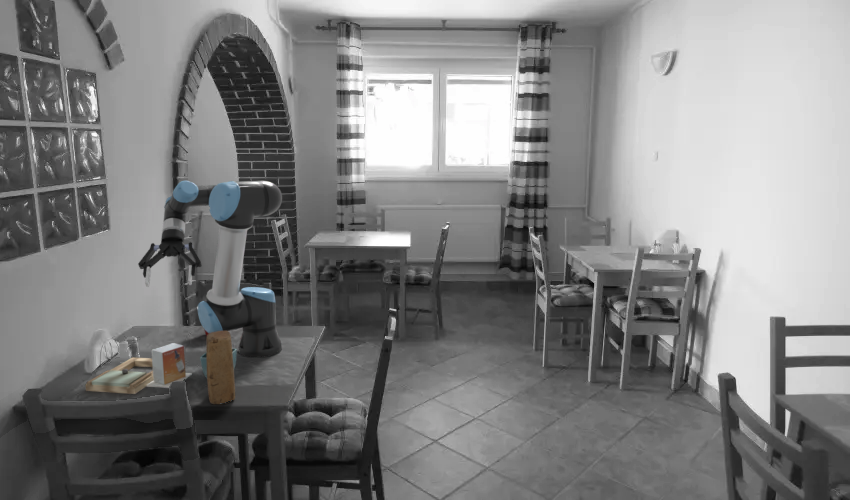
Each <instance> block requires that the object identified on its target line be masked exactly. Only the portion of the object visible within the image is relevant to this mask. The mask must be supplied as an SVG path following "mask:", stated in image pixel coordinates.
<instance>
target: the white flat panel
mask: <svg viewBox="0 0 850 500" xmlns="http://www.w3.org/2000/svg"><path fill="white" fill-rule="evenodd" d="M192 374H193V373H191V372H189V373H187V372H186V377H184V378H181V379H178V380H175V381H183V380H184V379H185V380H187V379H188V378H189V377H191V376H192ZM185 380H184V381H185ZM184 381H183V382H184ZM172 382H174V381H172ZM172 382H169V383H167V384H165V385H164V384H161V383H158V382H155V381H154V380H153V381H152V382H150V383H149V384H147V385H146V387H148V388H149V387H150V388H160V389H161V388H163V389H164V388H165V389H170V388H169V386H170V384H171V383H172ZM146 387H145V388H146Z"/></svg>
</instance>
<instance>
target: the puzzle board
mask: <svg viewBox="0 0 850 500" xmlns="http://www.w3.org/2000/svg"><path fill="white" fill-rule="evenodd" d="M134 367H141V368H143V367H144V368H146V367H147V368H153V366H152V357H151V358H150V357H149V358H148V357H131V358H129V359H128V360H127V359H126V361H124V362H121V364H119V365H117V366H115V367H113V368H112V369H110V370H109V369H108V370H106V371H104V372H102V373H101V374H98V375H96V376H95V377H94V378H92V379H89V380H88V381H87V382H86V384H85V392H96V393H97V392H101V393H114V394H129V395H132V394H133V395H136V394H138V393H139V392H140V391H142V390H143V389H145V388H146V385H147V384H149V383H150V382H152V381H153V370H151V371H149V372H145V371H130V370H132V369H133V368H134Z"/></svg>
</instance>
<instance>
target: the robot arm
mask: <svg viewBox="0 0 850 500" xmlns="http://www.w3.org/2000/svg"><path fill="white" fill-rule="evenodd" d="M282 201H283V195H282V191H281V189H280V188H279V187H278V186H277V185H276V184H275V183H273V182H271V181H268V180H243V181H233V180H230V181H224V182H220V183H217V184H212V185H211V184H209V185H208V184H207V185H197V184H195V183H194V182H192V181H189V180H182V181H179V182H178V183H177V185H176V186H175V187H174V189H173V192H172V195H170V196H169V197H167V198H166V200H165V204H164V206H163V207H164V212H163V223H162V229H161V232H162V233H161V239H160V241H161V242H160V244H155V243H154V242H152V243H151V244H150V247H149V249H148V250H147V252H146V253H145V254H144V255H143V257H142V258H141V259H140V261H139V262H138V264H137V265H138V267H139V270H143V272H142V275H143V278H144V279H145V280H144V284H145V286H146V288H150V281H151V274H152V270H151V268H152V267H153V266H155V265H156V264H157V263H158V262H159V261H161V260H162V259H164V258H165V257H167V258H169V257H178V256H179V257H180V258H181V259H182V260H183V261H184V262H186V264H187V265H188V275H187V276H188V279H187V282H188V285H189V286H193V285H192V283H193V277H194V276H196V275H197V274H196V272H197V268H201V267H202V262H201V259H200V258H199V256H198V254H197V253H196V251H195V249H194V245H193V242H191V241H190V242H188V243H187V244H185V232H186V221H187V220H186V219H187V215H188V213H189V211H190V209H192V208H193V207H196V208H197V207H207V206H208V207H209V212H210V215H211V217H212V218H213V219H214V222H215V223H216V224H217V226H218V227H219V228H218V234H217V241H216V242H217V243H216V245H217V246H216V250H215V251H216V253H215V262H214V269H213V270H214V271H213V278H212V285H211V286H212V287H211V288H210V289H208V291H207V292H206V296H205V297H206V298H205V300H201V301H200V302H198V304H197V307H198V310H197V314H198V319H199V322H200V324H201V326H202V328H203V329H205V330H204V332H205V331H207V332H208V333H211V332H216V331H228V332H230V331H233V330H237V329H242V333H241V336H240V340H239V344H238V354H239V355H240V356H242V357H246V358H265V357H269V356H270V357H271V356H274V355H276V354H279V353H280V352H281V351H282V350H283V346H282V340H281V338H280V335H279V334H278V329H277V318H276V314H277V313H276V303H277V301H276V297H275V292H274V291H273V290H272V289H270V288H265V287H256V286H253V287H251V286H250V287H249V286H247V287H243V288H241V289H240V286H241V285H240V284H241V280H242V279H241V278H242V271H243V266H244V257H245V256H244V255H245V249H246V242H247V241H246V240H247V236H248V235H247V233H248V230H249V229H251V228H252V227H253V225H254V221H255V220H254V219H255V218H259V217H266V216H270V215H272V214H274V213H275V212H277V210H278V209H280V208H281V205H282ZM185 249H186V250H187V251H189V253H190V255H191V257H192V259H191V258H190V256H188V255H187V253H185V252H184V250H185ZM157 251H158V252H157ZM155 252H157V253H156V254H155ZM154 254H155V255H154Z"/></svg>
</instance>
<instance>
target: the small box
mask: <svg viewBox="0 0 850 500" xmlns="http://www.w3.org/2000/svg"><path fill="white" fill-rule="evenodd" d="M151 359H152V366H153V367H152V371H153V380H154V381H155V382H158V383H161V384H164V385H165V384H167V383H169V382H172V381H175V380H178V379H181V378H184V377H186V373H187V372H186V358H185V346H184V345H182V344H179V343H175V342H172V343H169V344H166V345H163V346H160V347H157V348H153V349H151Z"/></svg>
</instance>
